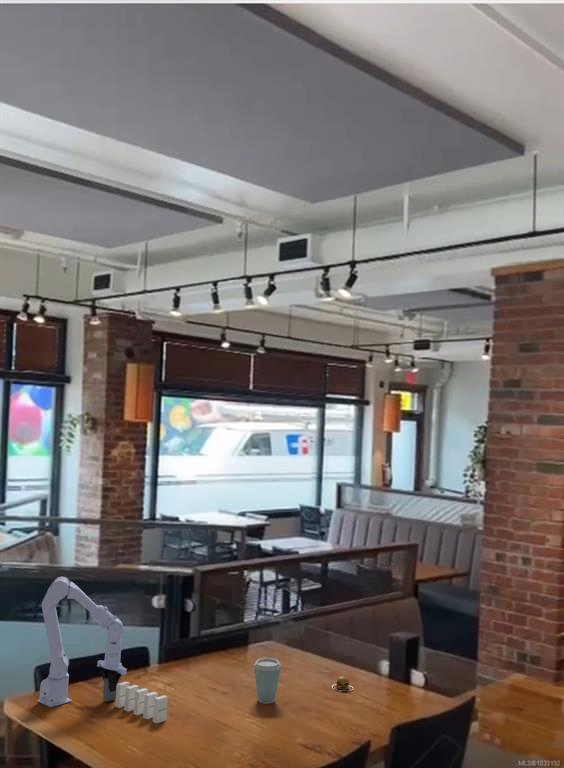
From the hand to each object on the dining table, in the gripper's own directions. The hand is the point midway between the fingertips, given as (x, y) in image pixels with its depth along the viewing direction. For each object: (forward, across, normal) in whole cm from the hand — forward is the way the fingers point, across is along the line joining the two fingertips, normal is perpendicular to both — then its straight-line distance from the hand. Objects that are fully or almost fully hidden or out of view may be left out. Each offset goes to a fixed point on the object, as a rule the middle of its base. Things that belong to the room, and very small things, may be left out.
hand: (110, 690), depth 282 cm
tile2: (+4, -7, 0) cm, 8 cm away
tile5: (+4, -22, 0) cm, 22 cm away
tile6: (+4, -27, 0) cm, 27 cm away
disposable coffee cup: (+4, -39, -44) cm, 59 cm away
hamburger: (+5, -51, -79) cm, 94 cm away
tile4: (+4, -17, 0) cm, 17 cm away
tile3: (+4, -12, 0) cm, 13 cm away
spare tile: (+3, 0, 0) cm, 3 cm away
